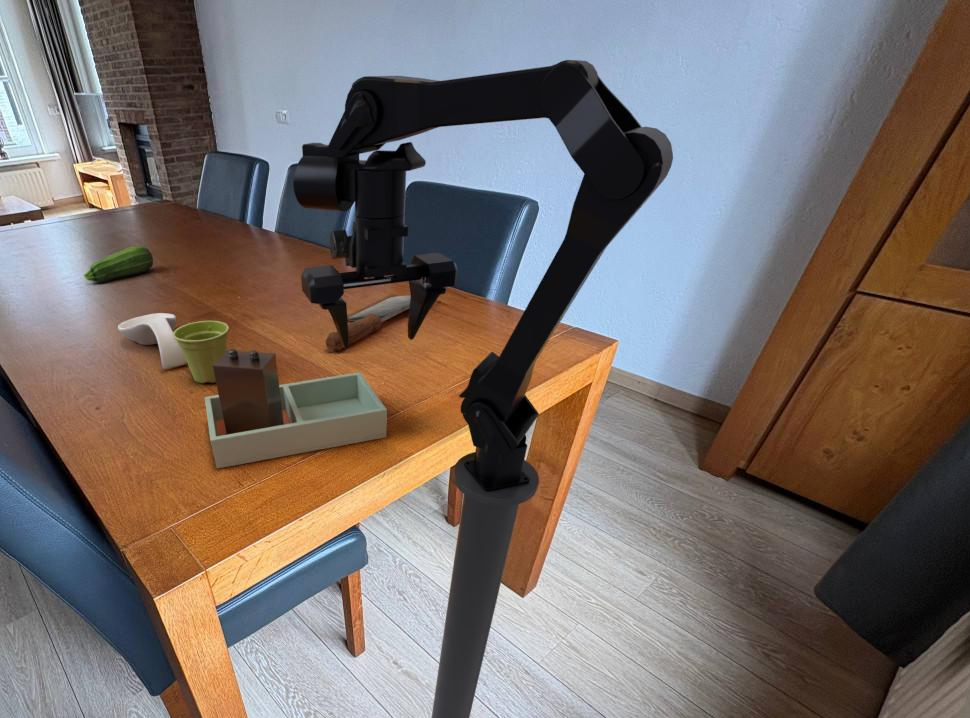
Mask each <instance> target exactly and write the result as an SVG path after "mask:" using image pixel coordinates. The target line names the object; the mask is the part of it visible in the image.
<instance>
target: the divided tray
mask: <svg viewBox="0 0 970 718" xmlns="http://www.w3.org/2000/svg"><path fill="white" fill-rule="evenodd" d="M279 387H280V396H281V404H282V412H283V420H284V425H280V426H274V427H268V428H262V429H257V430H251V431H245V432H239V433H234V434H228V435H227V433H226V428H225V424H224V419H223V414H222V409H221V404H220V399H219V394H214V395H209V396H204V403H205V410H206V419H207V424H208V432H209V433H208V434H209V439H210V440H209V441H210V444H211V449H212V454H213V458H214V462H215V466H216V469H222V468H223V469H224V468H227V467H234V466H240V465H244V464H250V463H255V462H256V463H257V462H261V461H266V460H272V459H277V458H282V457H289V456H291V455H292V456H293V455H299V454H305V453H309V452H315V451H320V450H324V449H330V448H336V447H341V446H347V445H353V444H357V443H363V442H368V441H374V440H378V439H380V440H381V439H384V438H387V429H388V426H387V425H388V423H387V422H388V409H387V408H386V406H385V405H384V403H383V402H382V401H381V399H380V397H378V395H377V393H376V392H375V391H374V389H373V388H372V387H371V385H370V384H369V383H368V381H367V379H366V378H365V377H364V376H363V374H362V372H360V371H359V372H353V373H345V374H340V375H333V376H328V377H321V378H316V379H309V380H303V381H296V382H290V383H283V384H279Z"/></svg>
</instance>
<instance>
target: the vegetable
mask: <svg viewBox="0 0 970 718" xmlns="http://www.w3.org/2000/svg"><path fill="white" fill-rule="evenodd" d="M153 265H154V258H153V254H152V252H151V251H150V250H149V248H147V247H145V246H143V245H132V246H128V247H127V248H124V249H122V250H120V251H117V252H115V253H113V254H112V253H111V255H108V256H106V257H104V258H102V259H99V260H98V261H95V262H94V263H92V264H91V265H90V267H89V270H88V271H86V273H85V274H83V277H84V278H85V280H87V281H88V282H95V283H98V284H103V283H107V282H110V281H112V280H115V279H120V278H123V277H124V278H125V277H130V276H137V275H140V274H143V273H146V272H147V271H149V270H151V268H152V267H153Z"/></svg>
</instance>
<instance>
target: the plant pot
mask: <svg viewBox="0 0 970 718" xmlns="http://www.w3.org/2000/svg"><path fill="white" fill-rule="evenodd" d="M229 331H230V327H229V325H228V324H227V323H226V322H223V321H220V320H219V321H218V320H201V321H195V322H189V323H186V324H183V325H181V326H179V327H178V328H176V329H174V330H173V337H174V339H176V340H177V342H178V344H179V346H180V347H181V348H182V350H183V353H184V355H185V358H186V360H187V363H186V364H187V366H188V368H189V371H190V373H191V376H192V378H193V380H194V381H195V382H197V383H199V384H205V383H212V384H214V383H216V379H215V374H214V370H213V365H214V364H215V363H216V362H217V361H218V360H219V359H220V358H221V357H222V356H223V355H224V354H225V353H226V352H227V351H228V350H227V340H228V332H229Z"/></svg>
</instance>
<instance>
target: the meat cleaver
mask: <svg viewBox="0 0 970 718" xmlns="http://www.w3.org/2000/svg"><path fill="white" fill-rule="evenodd" d="M410 298H411V294H410V295H398V296H391V297H389V298H387V299H384V300H382V301H380V302H378V303H376V304H374V305H371V306H370V307H369V306H368V307H367V308H365V309H364V310H361V311H359V312H357V313H355V314H353V315H351V316H349V317H347V320H348V322H351V323H348V335H349V344H348V346H350V345H351V344H353V343H355V342H357V341H359V340H361V339H362V338H365V337H367V336H368V335H370V334H371V333H376V332H377V331H378V330H379V329H380V327H381V324H382V323H383V322H385V321H387V320H389V319H391V318H393V317H396V315H399V314H401V313H403V312H404V311H407V310H409V308H410ZM325 345H326V347H327V348H328V350H330V351H335V352H339V351H341V350H342V348H344V347H343V345H342V342H341V340H340V337H339V334H338V332H337V331H332V332H329V334H328V335H327V337H326V339H325Z"/></svg>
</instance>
